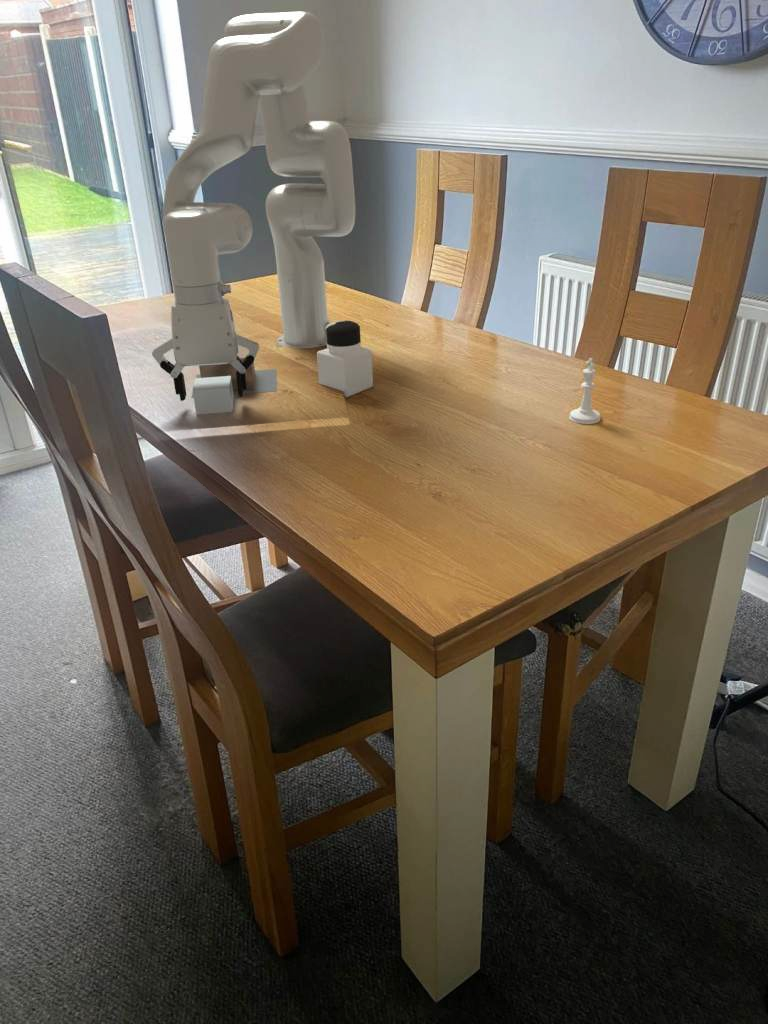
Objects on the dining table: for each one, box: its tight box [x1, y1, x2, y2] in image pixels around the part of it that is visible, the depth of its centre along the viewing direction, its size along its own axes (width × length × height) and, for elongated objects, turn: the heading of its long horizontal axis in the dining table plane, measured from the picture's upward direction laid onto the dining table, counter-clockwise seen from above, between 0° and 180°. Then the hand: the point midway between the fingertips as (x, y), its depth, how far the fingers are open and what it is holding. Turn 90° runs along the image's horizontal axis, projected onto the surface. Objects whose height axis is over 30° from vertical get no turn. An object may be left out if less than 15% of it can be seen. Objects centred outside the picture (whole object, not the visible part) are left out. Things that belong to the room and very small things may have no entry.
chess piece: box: [568, 357, 601, 425], centre depth 125 cm, size 5×5×10 cm
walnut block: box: [198, 345, 255, 391], centre depth 143 cm, size 9×9×6 cm
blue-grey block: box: [192, 376, 235, 415], centre depth 134 cm, size 6×6×6 cm
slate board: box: [190, 368, 278, 399], centre depth 145 cm, size 15×12×1 cm
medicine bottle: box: [316, 320, 374, 398], centre depth 140 cm, size 7×7×12 cm
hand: (212, 395), depth 133 cm, fingers open, 9 cm apart
